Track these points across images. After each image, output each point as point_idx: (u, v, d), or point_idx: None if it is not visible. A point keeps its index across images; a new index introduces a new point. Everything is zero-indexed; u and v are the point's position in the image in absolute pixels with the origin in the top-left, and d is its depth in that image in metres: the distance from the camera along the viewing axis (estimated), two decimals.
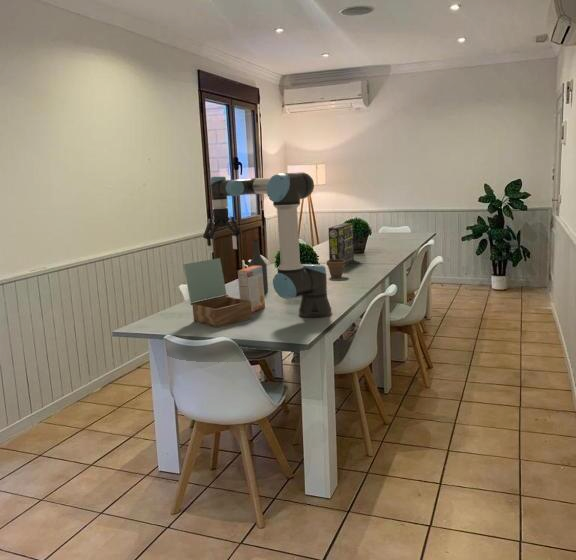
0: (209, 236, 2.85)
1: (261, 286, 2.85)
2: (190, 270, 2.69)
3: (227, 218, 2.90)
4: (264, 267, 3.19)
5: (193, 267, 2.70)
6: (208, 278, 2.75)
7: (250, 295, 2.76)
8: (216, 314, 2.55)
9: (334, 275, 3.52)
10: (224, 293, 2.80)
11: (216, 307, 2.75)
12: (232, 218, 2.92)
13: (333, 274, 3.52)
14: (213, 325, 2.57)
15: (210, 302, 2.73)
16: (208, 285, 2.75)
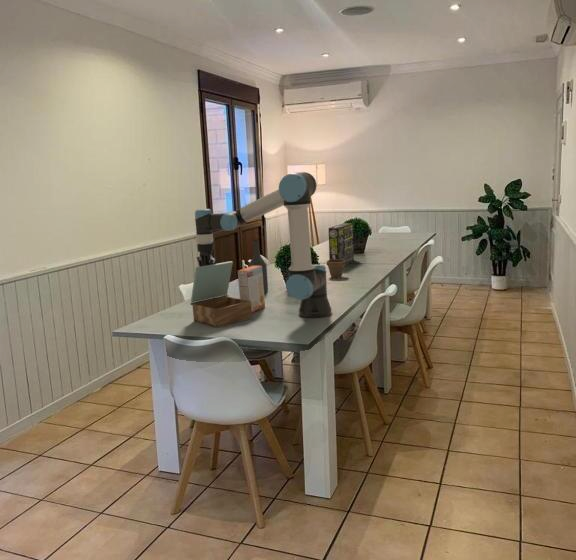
0: None
1: (261, 286, 2.85)
2: (200, 274, 2.63)
3: (208, 255, 2.67)
4: (264, 267, 3.19)
5: (204, 271, 2.63)
6: (215, 281, 2.71)
7: (250, 295, 2.76)
8: (216, 314, 2.55)
9: (334, 275, 3.52)
10: (225, 293, 2.79)
11: (216, 307, 2.75)
12: (210, 260, 2.66)
13: (333, 274, 3.52)
14: (213, 325, 2.57)
15: (210, 302, 2.73)
16: (213, 287, 2.72)
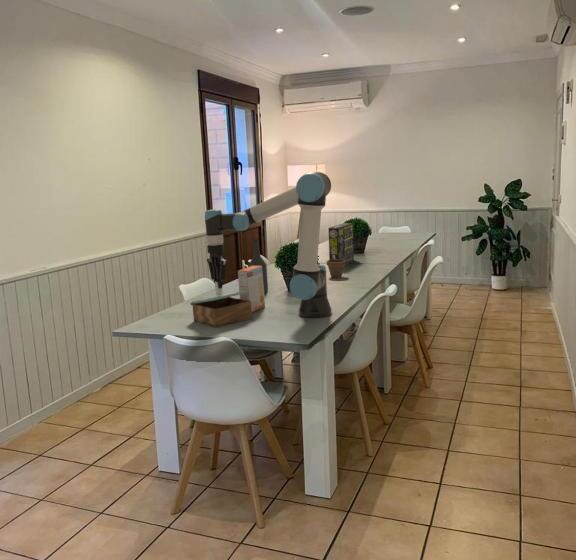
0: (213, 278, 2.67)
1: (261, 286, 2.85)
2: None
3: (218, 257, 2.61)
4: (264, 267, 3.19)
5: None
6: None
7: (250, 295, 2.76)
8: (216, 314, 2.55)
9: (334, 275, 3.52)
10: None
11: (216, 307, 2.75)
12: (221, 261, 2.60)
13: (333, 274, 3.52)
14: (213, 325, 2.57)
15: (210, 302, 2.73)
16: None
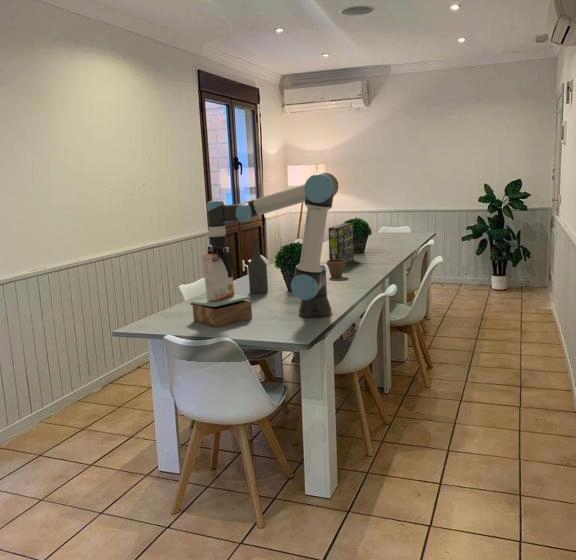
0: None
1: None
2: None
3: (220, 248, 2.59)
4: (264, 267, 3.19)
5: None
6: None
7: (216, 281, 2.60)
8: (216, 314, 2.55)
9: (334, 275, 3.52)
10: None
11: (216, 307, 2.75)
12: (224, 249, 2.57)
13: (333, 274, 3.52)
14: (213, 325, 2.57)
15: None
16: None
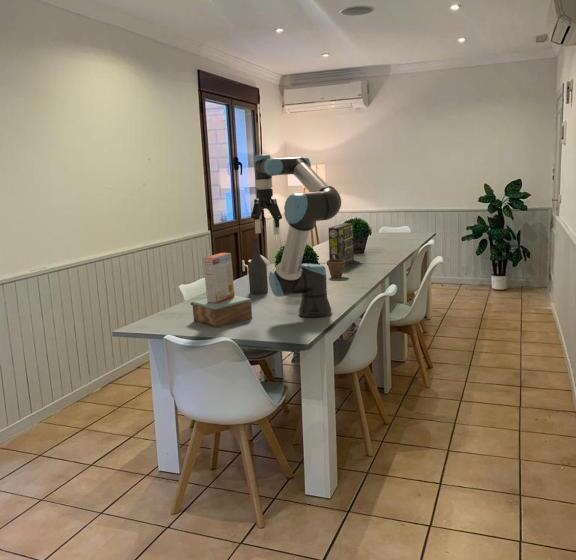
0: (254, 216, 2.81)
1: (230, 274, 2.68)
2: None
3: (267, 200, 2.71)
4: (264, 267, 3.19)
5: None
6: None
7: (216, 283, 2.60)
8: (216, 314, 2.55)
9: (334, 275, 3.52)
10: None
11: None
12: (271, 201, 2.69)
13: (333, 274, 3.52)
14: (213, 325, 2.57)
15: None
16: None
